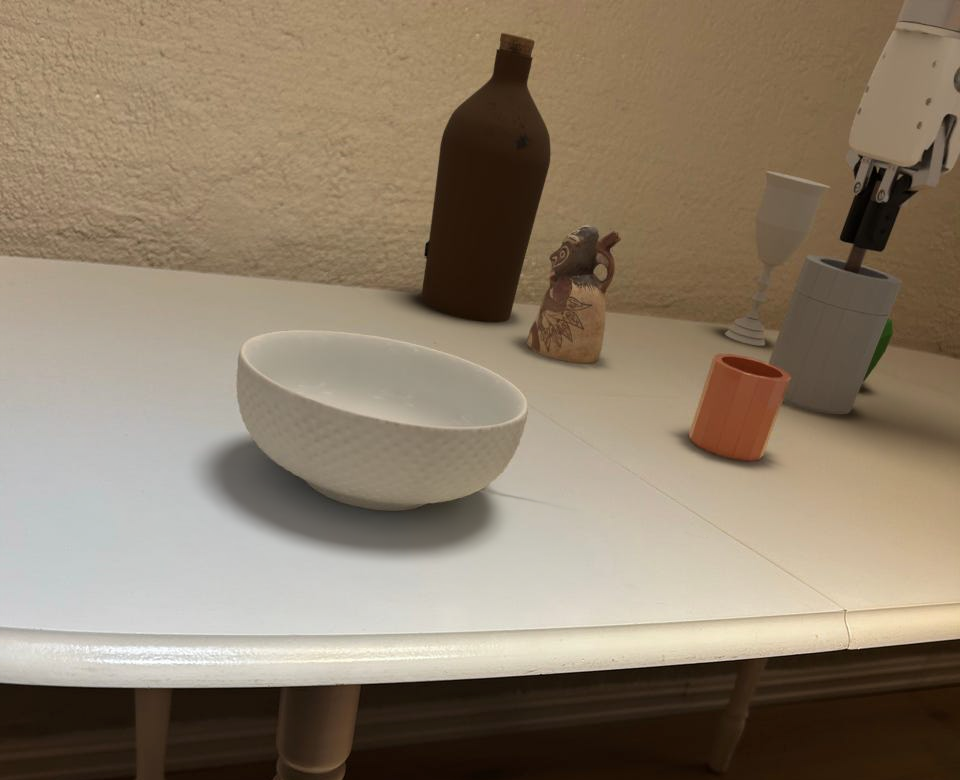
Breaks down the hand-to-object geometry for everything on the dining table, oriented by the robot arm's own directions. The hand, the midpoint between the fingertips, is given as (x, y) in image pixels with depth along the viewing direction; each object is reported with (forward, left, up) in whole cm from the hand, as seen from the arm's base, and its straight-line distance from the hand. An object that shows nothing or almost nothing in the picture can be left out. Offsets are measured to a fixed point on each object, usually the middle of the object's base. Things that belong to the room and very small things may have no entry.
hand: (861, 245), depth 96 cm
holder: (+12, +22, -15) cm, 29 cm away
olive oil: (+35, -7, -15) cm, 39 cm away
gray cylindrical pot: (0, 0, -15) cm, 15 cm away
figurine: (+25, +3, -15) cm, 29 cm away
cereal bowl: (+38, +44, -15) cm, 60 cm away
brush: (0, 0, -12) cm, 12 cm away
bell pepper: (-6, -12, -15) cm, 20 cm away
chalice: (+2, -23, -15) cm, 28 cm away
